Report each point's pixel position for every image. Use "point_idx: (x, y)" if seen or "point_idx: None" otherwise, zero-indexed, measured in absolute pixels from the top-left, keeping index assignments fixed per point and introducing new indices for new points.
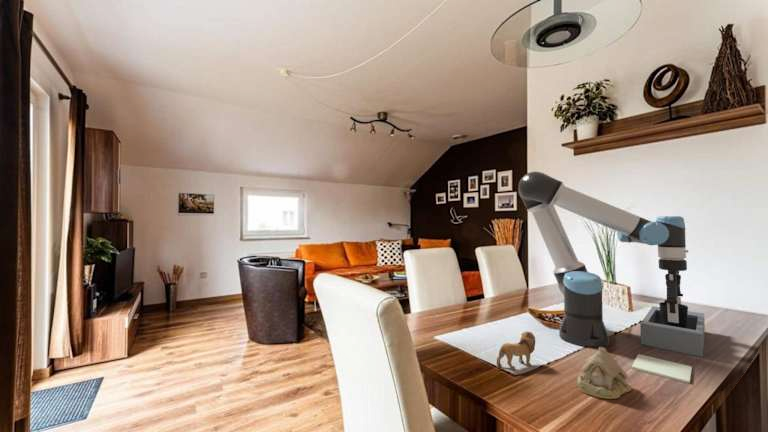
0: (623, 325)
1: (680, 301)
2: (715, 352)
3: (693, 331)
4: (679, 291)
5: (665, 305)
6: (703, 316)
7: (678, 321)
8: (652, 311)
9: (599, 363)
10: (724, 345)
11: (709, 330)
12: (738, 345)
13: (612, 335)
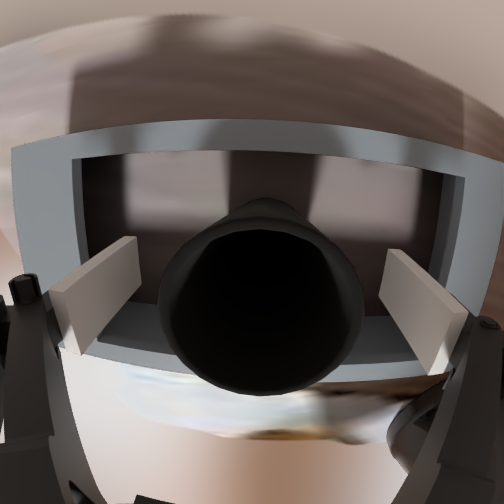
0: (207, 385)
1: (87, 275)
2: (368, 105)
3: (491, 192)
4: (42, 335)
5: (204, 351)
6: (66, 136)
7: (404, 253)
8: (153, 358)
9: None
10: (225, 68)
11: (40, 136)
12: (184, 34)
13: (370, 393)
